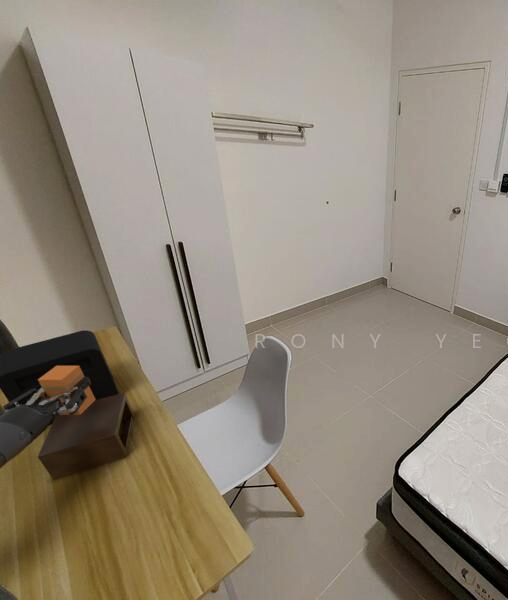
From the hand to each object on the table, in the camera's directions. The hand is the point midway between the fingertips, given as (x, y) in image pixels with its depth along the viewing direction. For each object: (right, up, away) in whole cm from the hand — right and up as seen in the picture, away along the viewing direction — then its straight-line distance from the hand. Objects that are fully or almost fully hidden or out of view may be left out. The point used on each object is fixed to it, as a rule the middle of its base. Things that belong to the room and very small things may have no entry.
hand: (75, 379), depth 80 cm
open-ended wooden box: (-2, -19, +8) cm, 21 cm away
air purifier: (-20, -12, +20) cm, 31 cm away
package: (0, -7, +1) cm, 7 cm away
